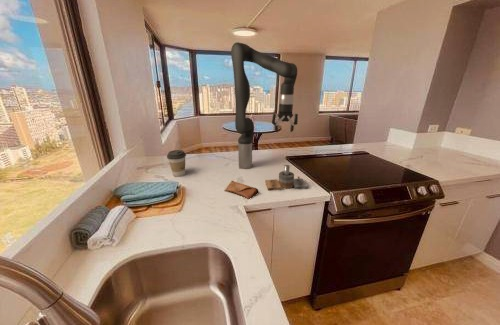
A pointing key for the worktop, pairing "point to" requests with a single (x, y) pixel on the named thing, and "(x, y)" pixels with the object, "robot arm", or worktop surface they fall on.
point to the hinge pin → (286, 170)
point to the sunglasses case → (241, 190)
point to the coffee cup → (177, 162)
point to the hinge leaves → (286, 182)
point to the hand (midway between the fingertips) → (283, 131)
